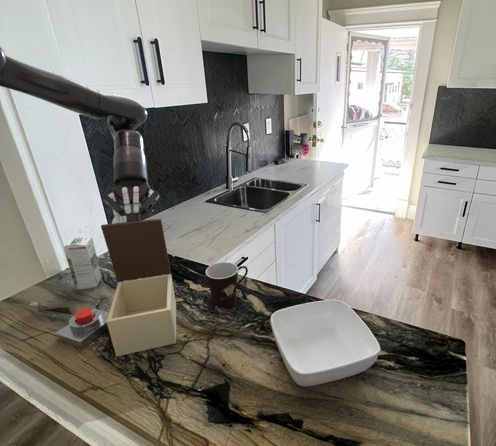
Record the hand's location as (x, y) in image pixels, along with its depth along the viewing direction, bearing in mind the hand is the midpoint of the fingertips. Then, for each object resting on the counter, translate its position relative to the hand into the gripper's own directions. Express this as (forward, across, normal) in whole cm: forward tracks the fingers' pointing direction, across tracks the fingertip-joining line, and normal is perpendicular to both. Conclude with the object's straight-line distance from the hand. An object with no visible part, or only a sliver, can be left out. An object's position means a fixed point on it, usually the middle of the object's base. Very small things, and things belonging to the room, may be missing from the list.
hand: (134, 229), depth 75 cm
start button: (+17, -14, +12) cm, 25 cm away
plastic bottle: (-4, -8, +38) cm, 39 cm away
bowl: (+38, +37, -4) cm, 53 cm away
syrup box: (+3, -18, +31) cm, 36 cm away
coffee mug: (+18, +21, +16) cm, 32 cm away
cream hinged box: (+22, 0, +12) cm, 25 cm away
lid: (+4, 0, +4) cm, 6 cm away
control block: (+19, -14, +15) cm, 28 cm away
